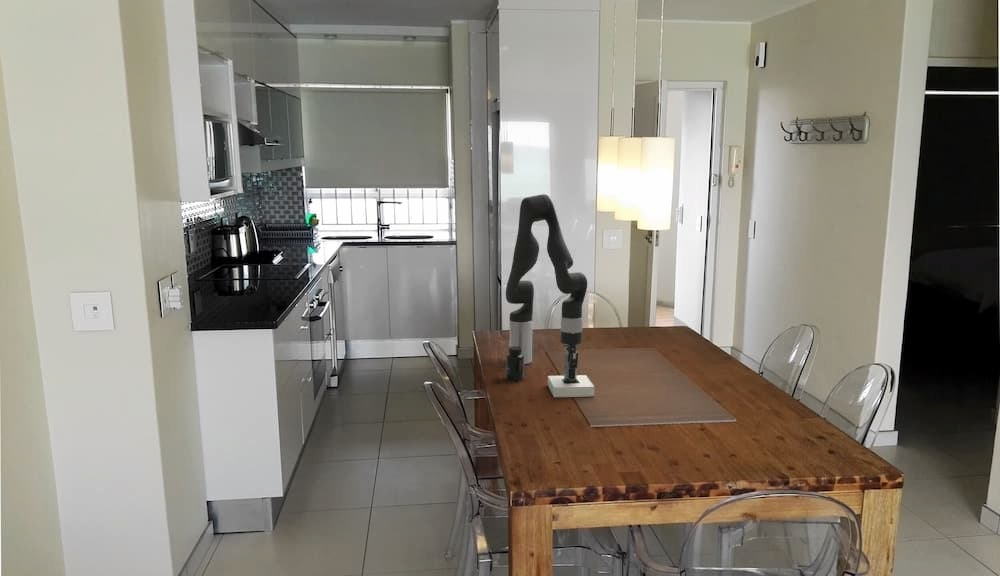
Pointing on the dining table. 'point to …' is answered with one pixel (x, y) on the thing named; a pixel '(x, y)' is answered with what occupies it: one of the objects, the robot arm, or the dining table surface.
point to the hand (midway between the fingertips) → (570, 376)
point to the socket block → (570, 387)
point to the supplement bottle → (515, 364)
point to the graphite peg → (566, 372)
